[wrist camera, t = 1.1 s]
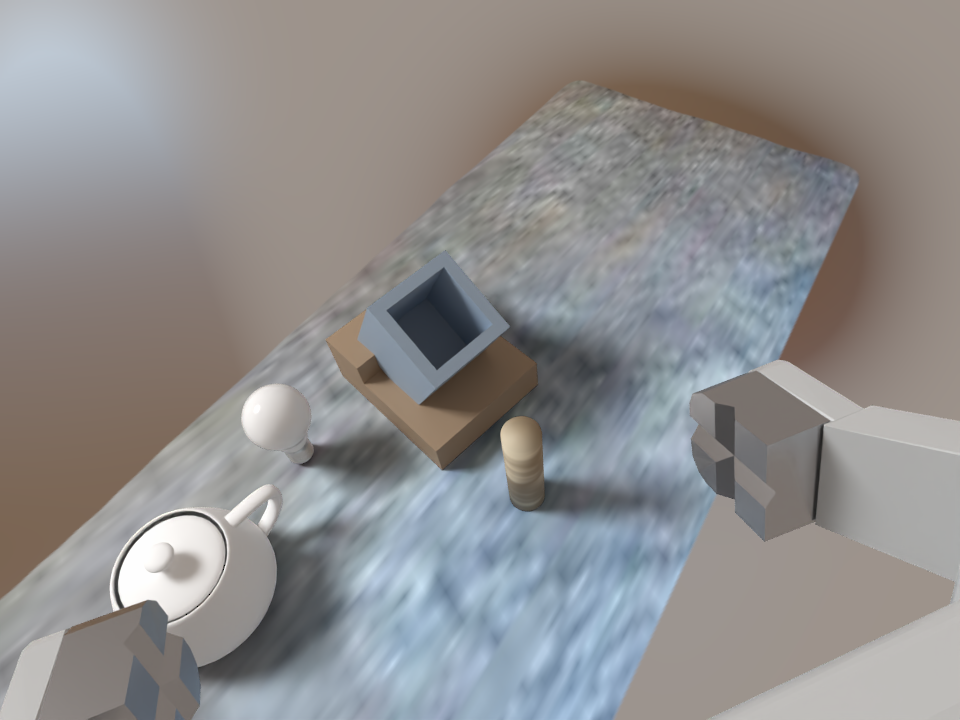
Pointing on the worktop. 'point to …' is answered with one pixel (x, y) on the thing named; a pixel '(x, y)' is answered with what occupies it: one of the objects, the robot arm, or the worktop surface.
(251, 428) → the lightbulb
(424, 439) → the socket
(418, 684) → the worktop surface
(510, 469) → the peg
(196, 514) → the teapot
